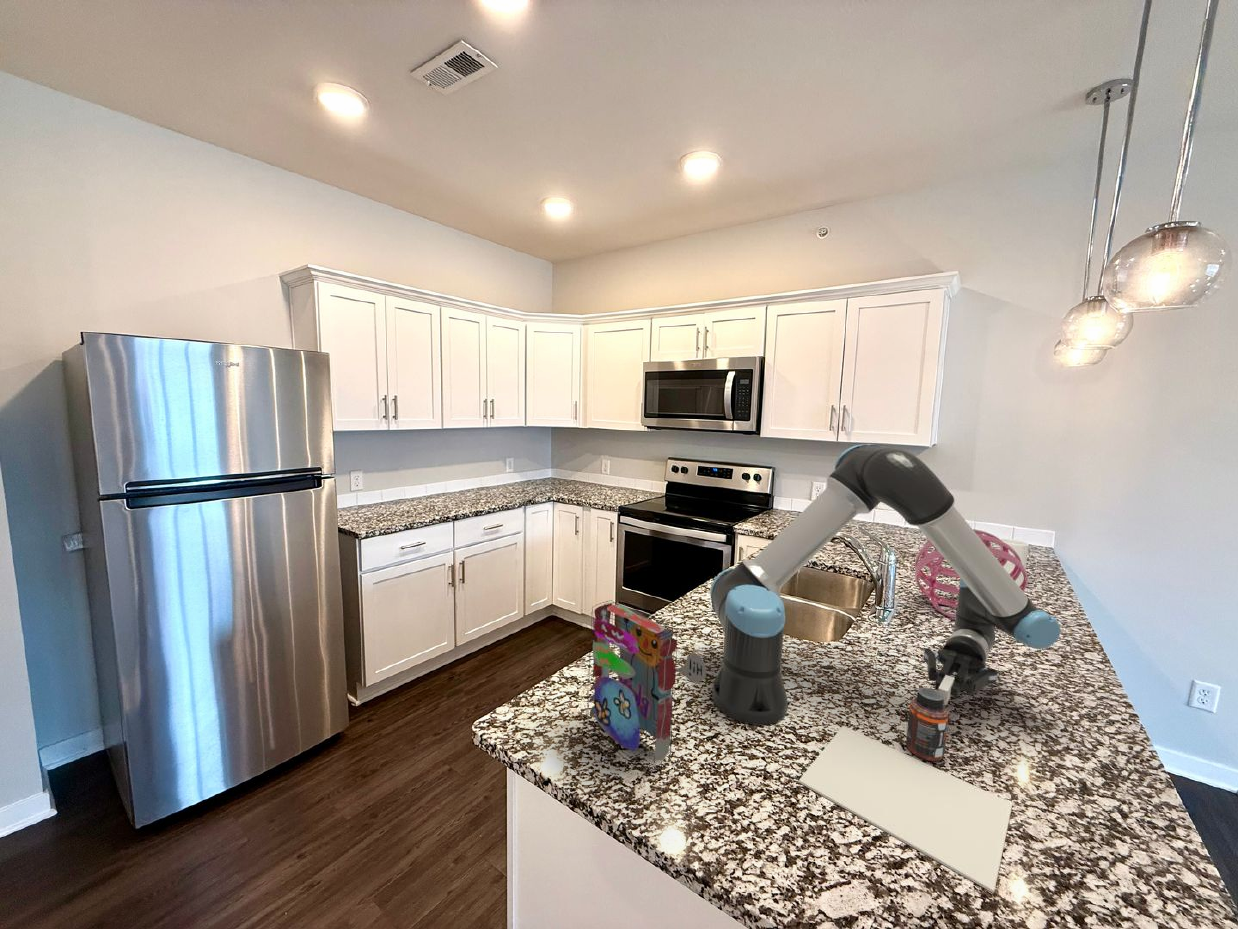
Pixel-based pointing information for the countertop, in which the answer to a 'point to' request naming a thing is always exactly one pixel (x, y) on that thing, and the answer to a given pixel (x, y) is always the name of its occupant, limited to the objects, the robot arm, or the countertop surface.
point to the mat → (914, 803)
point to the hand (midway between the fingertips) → (942, 696)
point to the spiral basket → (938, 569)
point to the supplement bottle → (927, 725)
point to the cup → (1021, 550)
